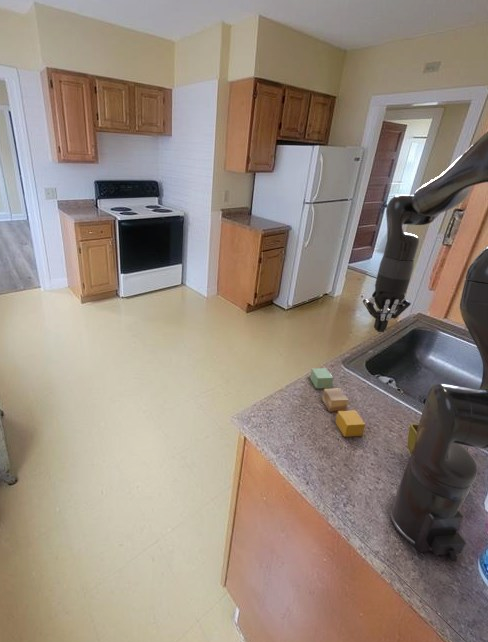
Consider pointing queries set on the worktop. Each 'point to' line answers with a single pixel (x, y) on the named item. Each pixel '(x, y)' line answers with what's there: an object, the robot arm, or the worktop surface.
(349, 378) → the worktop surface
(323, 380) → the sage block
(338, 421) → the mustard block
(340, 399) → the maple block
